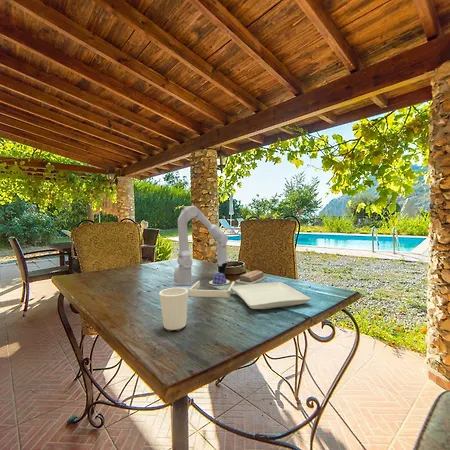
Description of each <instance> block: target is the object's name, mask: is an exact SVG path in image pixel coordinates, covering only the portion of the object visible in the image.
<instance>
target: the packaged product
mask: <svg viewBox="0 0 450 450" xmlns="http://www.w3.org/2000/svg"><path fill="white" fill-rule="evenodd" d="M265 279H267V276H264V272H263V271H261V270H257V269H256V270H252V271H249V272H246V273H242V274H241V275H239V279H236V280H235V284H236V283H237V284H240V285H241V284H242V285H248V284H257V283H259V282H262V281H263V280H265Z"/></svg>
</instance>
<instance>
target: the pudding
mask: <svg viewBox="0 0 450 450" xmlns="http://www.w3.org/2000/svg"><path fill="white" fill-rule="evenodd" d="M212 278H213V279H211V280H210V281H208V284H210V285H214V286H224V285H228V284H229V283H231V281H230V280H229V279H227V278H226V275H224V274H223V273H220V272H216V273H214V274H213V277H212Z"/></svg>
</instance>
